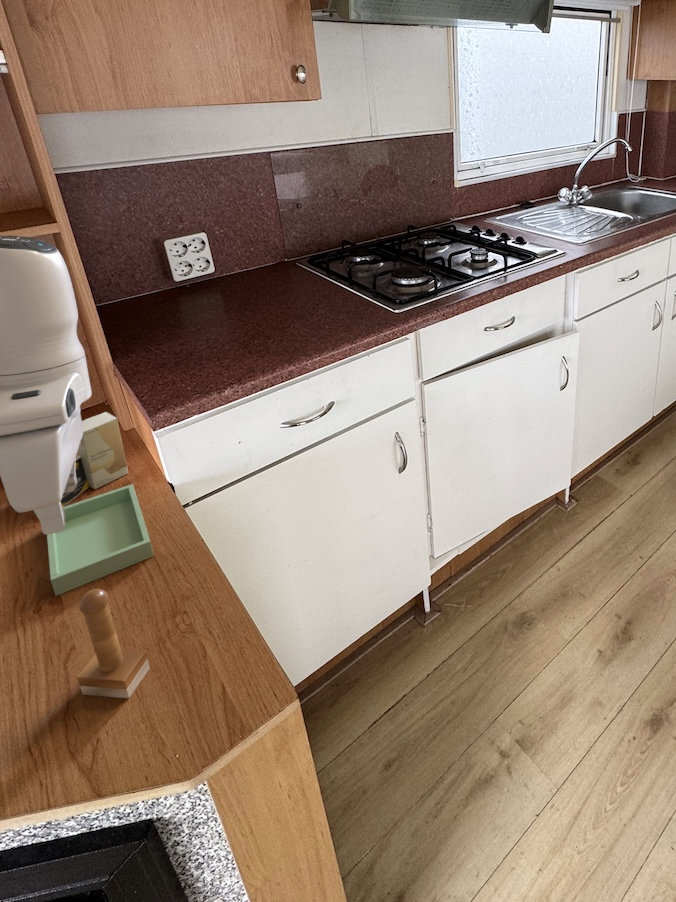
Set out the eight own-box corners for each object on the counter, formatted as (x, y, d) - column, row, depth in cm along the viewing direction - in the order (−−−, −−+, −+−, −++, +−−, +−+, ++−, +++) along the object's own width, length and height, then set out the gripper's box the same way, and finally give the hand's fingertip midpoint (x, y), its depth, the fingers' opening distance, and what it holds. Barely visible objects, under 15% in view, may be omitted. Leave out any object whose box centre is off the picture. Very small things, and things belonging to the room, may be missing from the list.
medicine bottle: (55, 513, 100) (38, 455, 96) (20, 508, 101) (1, 449, 97) (90, 487, 107) (75, 431, 103) (56, 482, 108) (40, 427, 104)
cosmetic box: (94, 490, 106) (79, 433, 102) (82, 482, 108) (67, 426, 104) (131, 472, 111) (118, 417, 107) (119, 464, 113) (105, 410, 109)
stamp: (82, 694, 71) (53, 605, 66) (105, 664, 74) (79, 577, 69) (129, 698, 70) (103, 609, 65) (150, 668, 74) (127, 580, 69)
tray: (153, 556, 91) (150, 541, 90) (55, 596, 84) (50, 580, 83) (136, 497, 104) (132, 483, 103) (49, 527, 97) (45, 513, 96)
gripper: (21, 369, 68) (42, 477, 71) (-27, 428, 51) (3, 568, 53) (86, 360, 71) (104, 464, 74) (61, 412, 54) (86, 546, 56)
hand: (61, 508), depth 64 cm, fingers open, 8 cm apart
